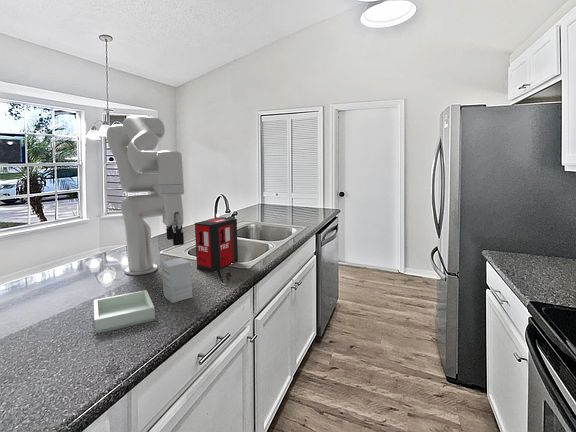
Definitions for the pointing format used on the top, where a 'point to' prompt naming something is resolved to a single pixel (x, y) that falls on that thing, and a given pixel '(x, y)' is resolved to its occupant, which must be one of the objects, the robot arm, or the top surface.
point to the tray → (123, 311)
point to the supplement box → (177, 279)
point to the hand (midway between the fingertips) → (175, 241)
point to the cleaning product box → (216, 243)
